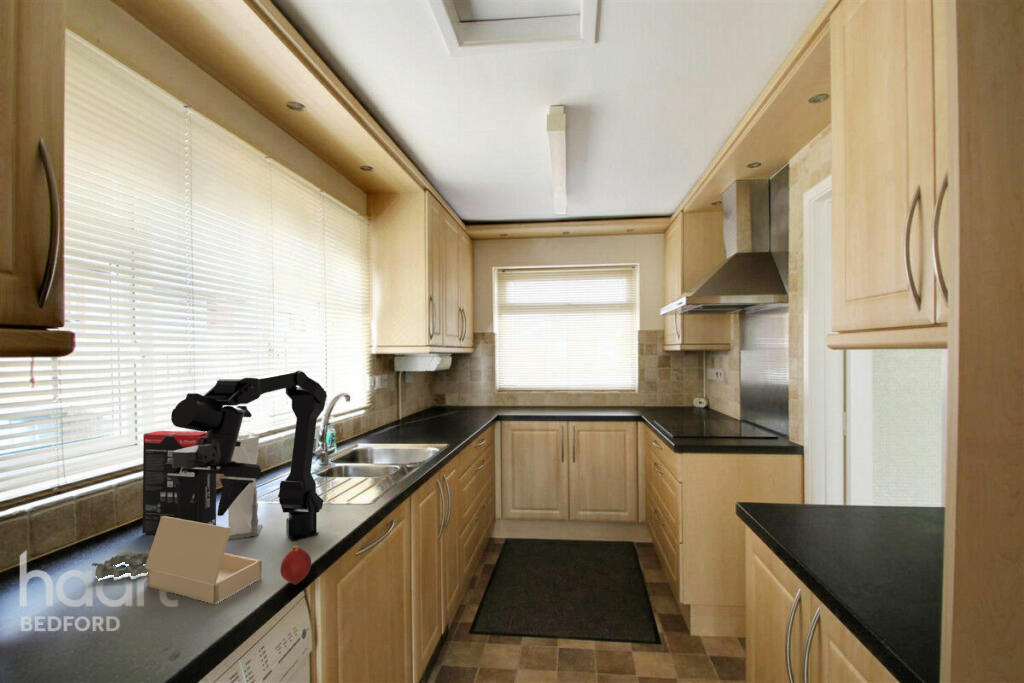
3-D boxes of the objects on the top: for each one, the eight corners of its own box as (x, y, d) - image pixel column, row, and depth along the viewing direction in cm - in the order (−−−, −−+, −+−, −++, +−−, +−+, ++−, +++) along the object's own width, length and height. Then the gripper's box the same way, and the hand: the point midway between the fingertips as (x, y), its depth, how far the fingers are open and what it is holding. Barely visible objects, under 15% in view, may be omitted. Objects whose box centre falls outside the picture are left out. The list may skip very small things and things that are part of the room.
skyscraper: (220, 541, 112) (221, 432, 113) (228, 529, 119) (228, 427, 120) (258, 535, 115) (258, 430, 116) (262, 524, 123) (263, 425, 123)
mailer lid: (164, 516, 93) (161, 516, 93) (231, 528, 87) (228, 528, 86) (147, 567, 90) (144, 567, 90) (215, 584, 83) (212, 584, 83)
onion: (282, 579, 93) (282, 541, 93) (312, 574, 95) (312, 537, 95) (278, 593, 87) (278, 553, 87) (309, 588, 89) (310, 548, 89)
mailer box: (196, 564, 100) (196, 547, 100) (261, 579, 93) (261, 560, 93) (147, 586, 90) (147, 567, 90) (215, 605, 83) (215, 584, 83)
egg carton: (87, 583, 92) (87, 564, 92) (118, 566, 100) (118, 548, 100) (139, 581, 93) (139, 562, 93) (166, 564, 100) (166, 546, 100)
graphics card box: (218, 527, 121) (219, 429, 121) (198, 538, 114) (199, 434, 114) (162, 525, 122) (163, 429, 123) (139, 536, 115) (140, 433, 116)
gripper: (150, 427, 86) (121, 512, 81) (229, 430, 82) (205, 518, 77) (198, 435, 96) (175, 510, 91) (270, 438, 93) (252, 516, 87)
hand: (200, 514), depth 86 cm, fingers open, 9 cm apart
